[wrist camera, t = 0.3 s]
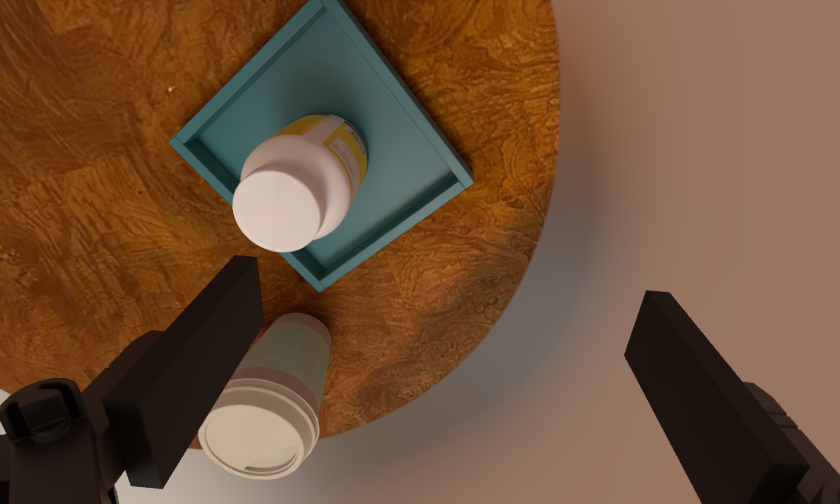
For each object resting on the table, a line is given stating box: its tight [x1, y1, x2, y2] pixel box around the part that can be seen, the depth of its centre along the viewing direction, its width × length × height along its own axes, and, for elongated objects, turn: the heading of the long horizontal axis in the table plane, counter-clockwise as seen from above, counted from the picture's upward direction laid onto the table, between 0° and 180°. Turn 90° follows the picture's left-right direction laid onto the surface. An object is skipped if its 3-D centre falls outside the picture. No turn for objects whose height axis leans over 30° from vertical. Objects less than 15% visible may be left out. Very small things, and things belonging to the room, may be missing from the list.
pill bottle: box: [233, 113, 368, 252], centre depth 29 cm, size 6×6×12 cm
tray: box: [168, 0, 475, 292], centre depth 33 cm, size 16×16×2 cm
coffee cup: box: [198, 313, 332, 480], centre depth 37 cm, size 8×8×12 cm
